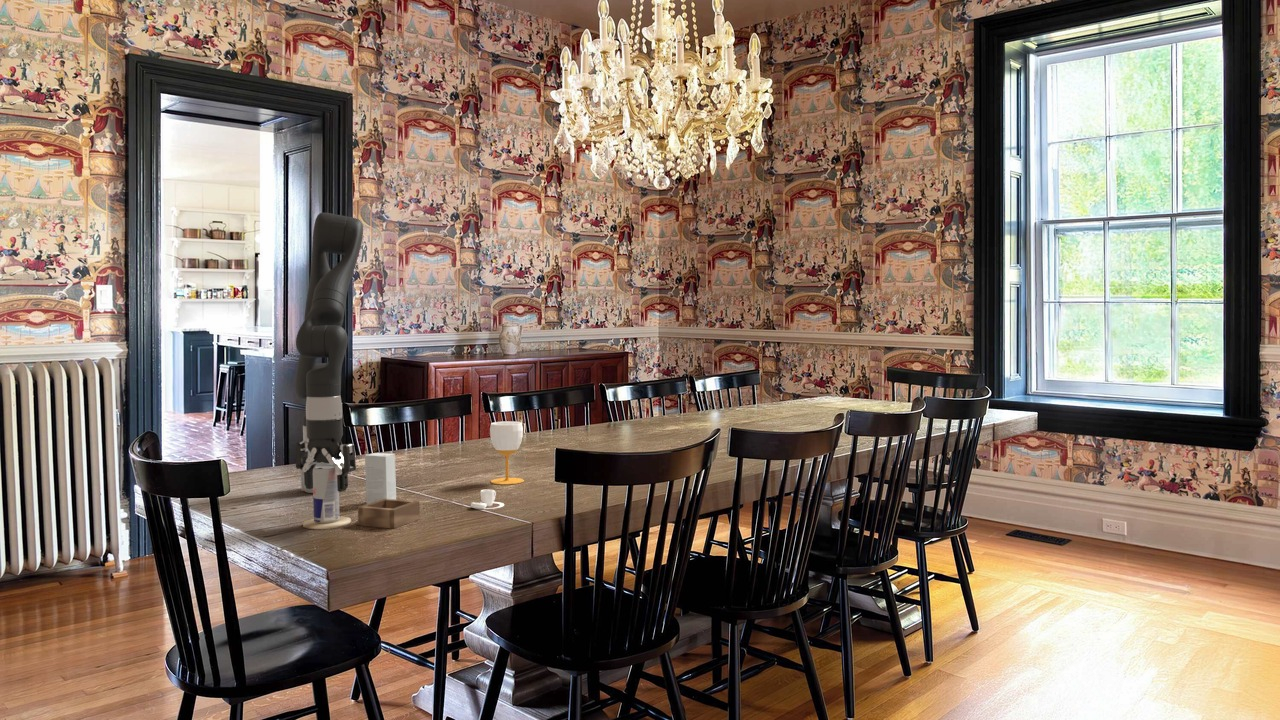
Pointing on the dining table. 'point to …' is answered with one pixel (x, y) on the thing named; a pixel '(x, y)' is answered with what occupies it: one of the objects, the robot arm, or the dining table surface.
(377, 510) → the walnut holder
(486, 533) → the dining table surface
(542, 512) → the dining table surface
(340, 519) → the cork coaster
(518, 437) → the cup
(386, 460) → the skincare box
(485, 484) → the dining table surface
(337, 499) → the energy drink
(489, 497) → the teacup and saucer
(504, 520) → the dining table surface
